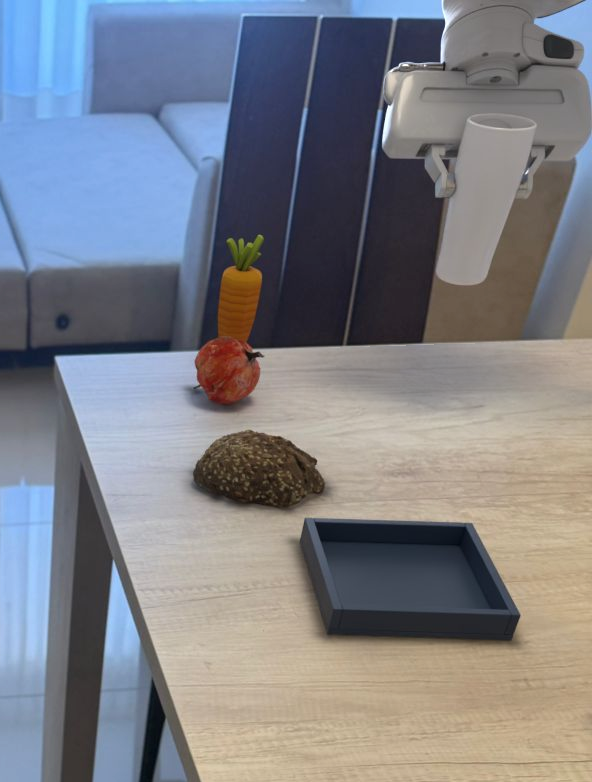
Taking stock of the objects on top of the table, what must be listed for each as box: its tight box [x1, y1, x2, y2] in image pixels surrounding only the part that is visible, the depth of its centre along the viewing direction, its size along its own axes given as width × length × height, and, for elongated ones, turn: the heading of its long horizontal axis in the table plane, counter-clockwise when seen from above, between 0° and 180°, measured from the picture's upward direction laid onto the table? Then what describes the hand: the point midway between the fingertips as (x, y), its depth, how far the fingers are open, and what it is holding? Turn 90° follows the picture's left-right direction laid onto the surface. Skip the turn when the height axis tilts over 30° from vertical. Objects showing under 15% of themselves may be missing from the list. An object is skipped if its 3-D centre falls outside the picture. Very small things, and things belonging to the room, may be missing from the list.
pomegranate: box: [193, 336, 265, 406], centre depth 132 cm, size 7×7×10 cm
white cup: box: [435, 113, 537, 286], centre depth 119 cm, size 7×7×15 cm
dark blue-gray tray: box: [299, 517, 521, 642], centre depth 103 cm, size 16×16×3 cm
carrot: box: [217, 234, 265, 343], centre depth 136 cm, size 5×5×15 cm
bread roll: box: [192, 429, 326, 509], centre depth 117 cm, size 13×12×5 cm
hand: (483, 195), depth 118 cm, fingers closed on white cup, 6 cm apart
